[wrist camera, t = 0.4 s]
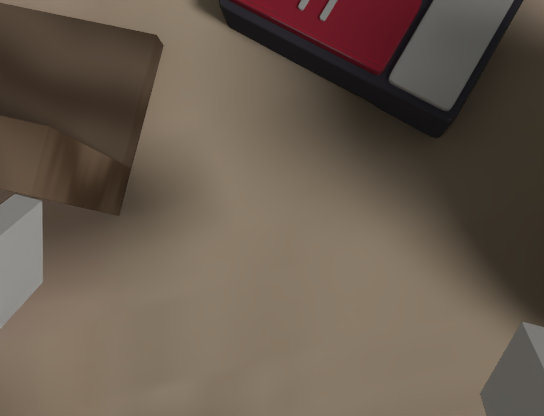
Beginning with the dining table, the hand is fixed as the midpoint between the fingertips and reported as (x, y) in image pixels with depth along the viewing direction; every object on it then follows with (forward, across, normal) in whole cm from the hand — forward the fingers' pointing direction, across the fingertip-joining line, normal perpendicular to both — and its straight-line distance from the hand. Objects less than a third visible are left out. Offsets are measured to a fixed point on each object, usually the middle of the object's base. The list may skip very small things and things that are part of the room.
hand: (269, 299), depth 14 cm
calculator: (+23, -2, -6) cm, 24 cm away
